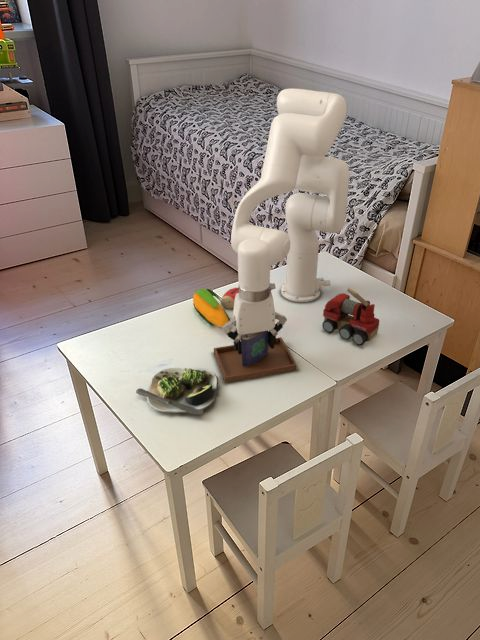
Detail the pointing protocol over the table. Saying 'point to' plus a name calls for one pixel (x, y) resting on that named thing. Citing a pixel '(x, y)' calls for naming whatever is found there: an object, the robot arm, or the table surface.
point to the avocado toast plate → (182, 390)
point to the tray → (270, 365)
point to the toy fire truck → (351, 318)
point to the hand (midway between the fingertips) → (255, 348)
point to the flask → (254, 347)
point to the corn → (210, 307)
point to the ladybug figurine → (229, 298)
